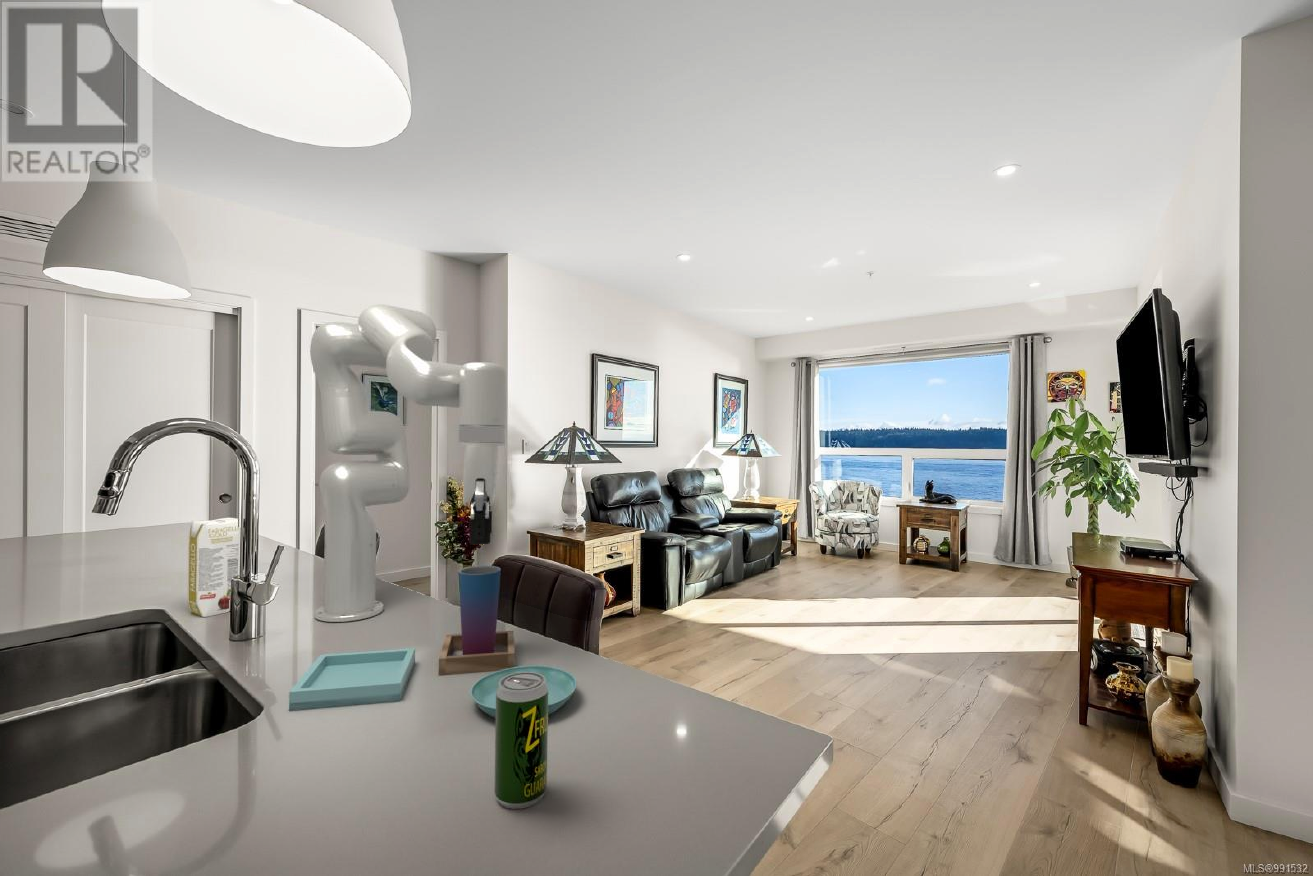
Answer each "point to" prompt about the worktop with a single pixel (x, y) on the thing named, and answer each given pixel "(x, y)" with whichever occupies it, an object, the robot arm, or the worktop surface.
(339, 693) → the tray
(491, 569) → the cup
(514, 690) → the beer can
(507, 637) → the holder
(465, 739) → the worktop surface
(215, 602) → the juice carton
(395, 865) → the worktop surface
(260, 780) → the worktop surface
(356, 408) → the robot arm
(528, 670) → the saucer
